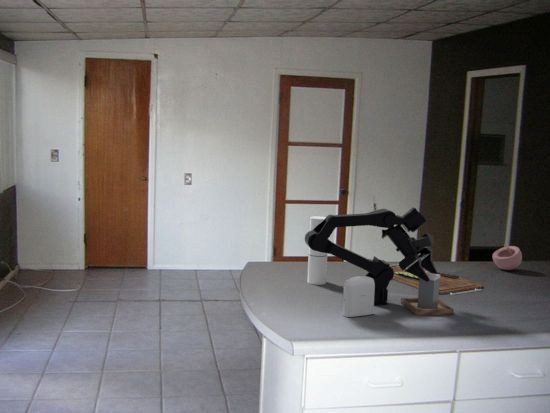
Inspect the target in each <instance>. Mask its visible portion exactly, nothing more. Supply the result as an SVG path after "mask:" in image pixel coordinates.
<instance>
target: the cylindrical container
mask: <svg viewBox="0 0 550 413" xmlns="http://www.w3.org/2000/svg"><path fill="white" fill-rule="evenodd" d="M326 217H327V216H319V215H317V216H315V215H314V216H310V217H309V231H311V230H313V229H314V228H315V227H316V226H317V225H318V224H320V223H321V222H322V221H323V220H324V219H325V218H326ZM307 258H308V259H307V281H306V282H307V284H311V285H320V286H322V285H326V284H327V270H328V253H322V252H318V251H314V250H312V249H311V248H310V247H309V246H308V257H307Z"/></svg>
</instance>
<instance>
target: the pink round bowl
mask: <svg viewBox="0 0 550 413" xmlns="http://www.w3.org/2000/svg"><path fill="white" fill-rule="evenodd" d="M503 246H504V247H501V248H499V249H496V250H495V251H494V252H493V253H492V261H493V263H494V265H496V267H498V268H499V269H501V270H504V271H512V270H515V269H516V268H518V267H519V266H520V264H521V263H522V260H523V254H522V251H521V250H520V248H519V247H518V246H515V245H509V246H508V245H507V244H503Z"/></svg>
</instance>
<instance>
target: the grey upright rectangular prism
mask: <svg viewBox="0 0 550 413" xmlns="http://www.w3.org/2000/svg"><path fill="white" fill-rule="evenodd" d="M426 274H427V276H428V277H429V279H430V280H429V281H428V282H426V281H425V280H423V279H421V278H419V289H418V293H417V298H418V306H417V307H418V308H422V309H435V308H437V307H438V299H439V295H440V294H439V281H440V275H439V274H433V273H427V272H426Z"/></svg>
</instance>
